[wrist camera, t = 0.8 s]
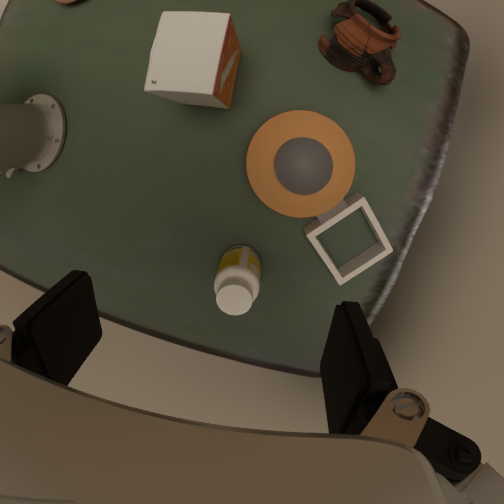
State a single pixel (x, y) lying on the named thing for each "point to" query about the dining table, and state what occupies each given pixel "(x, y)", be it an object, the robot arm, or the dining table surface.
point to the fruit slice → (65, 1)
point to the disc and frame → (311, 180)
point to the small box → (194, 59)
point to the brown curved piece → (362, 41)
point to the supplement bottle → (237, 280)
